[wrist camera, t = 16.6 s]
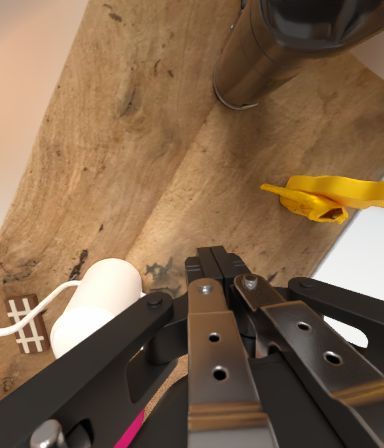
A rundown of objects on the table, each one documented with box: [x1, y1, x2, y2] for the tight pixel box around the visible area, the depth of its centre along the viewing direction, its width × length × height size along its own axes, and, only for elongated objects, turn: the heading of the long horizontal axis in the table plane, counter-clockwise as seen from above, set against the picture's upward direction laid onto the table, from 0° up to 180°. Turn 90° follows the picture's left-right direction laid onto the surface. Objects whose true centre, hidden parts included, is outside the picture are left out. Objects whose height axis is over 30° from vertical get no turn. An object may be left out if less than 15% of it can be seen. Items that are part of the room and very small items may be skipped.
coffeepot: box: [0, 258, 146, 359], centre depth 35 cm, size 11×25×19 cm, turn 74°
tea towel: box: [4, 294, 50, 353], centre depth 44 cm, size 12×5×1 cm, turn 4°
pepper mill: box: [114, 409, 144, 448], centre depth 42 cm, size 7×7×20 cm
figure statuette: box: [260, 176, 384, 224], centre depth 33 cm, size 18×8×22 cm, turn 67°
